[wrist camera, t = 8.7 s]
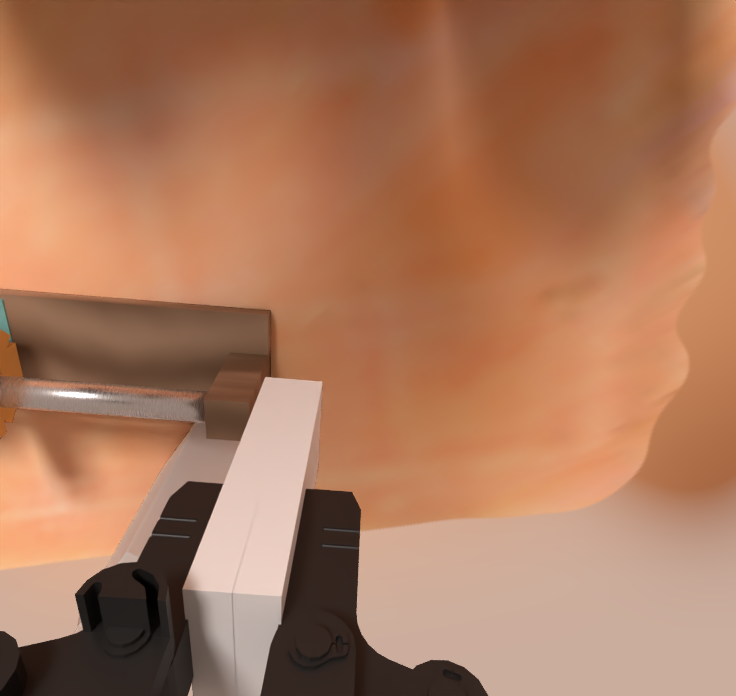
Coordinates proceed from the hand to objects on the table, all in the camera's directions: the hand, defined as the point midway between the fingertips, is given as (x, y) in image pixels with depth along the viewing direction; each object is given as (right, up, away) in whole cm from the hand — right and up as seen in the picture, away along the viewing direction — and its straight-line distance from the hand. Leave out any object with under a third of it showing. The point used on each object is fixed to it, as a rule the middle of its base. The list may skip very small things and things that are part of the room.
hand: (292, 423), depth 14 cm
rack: (-19, +2, +29) cm, 35 cm away
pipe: (-20, -1, +24) cm, 31 cm away
